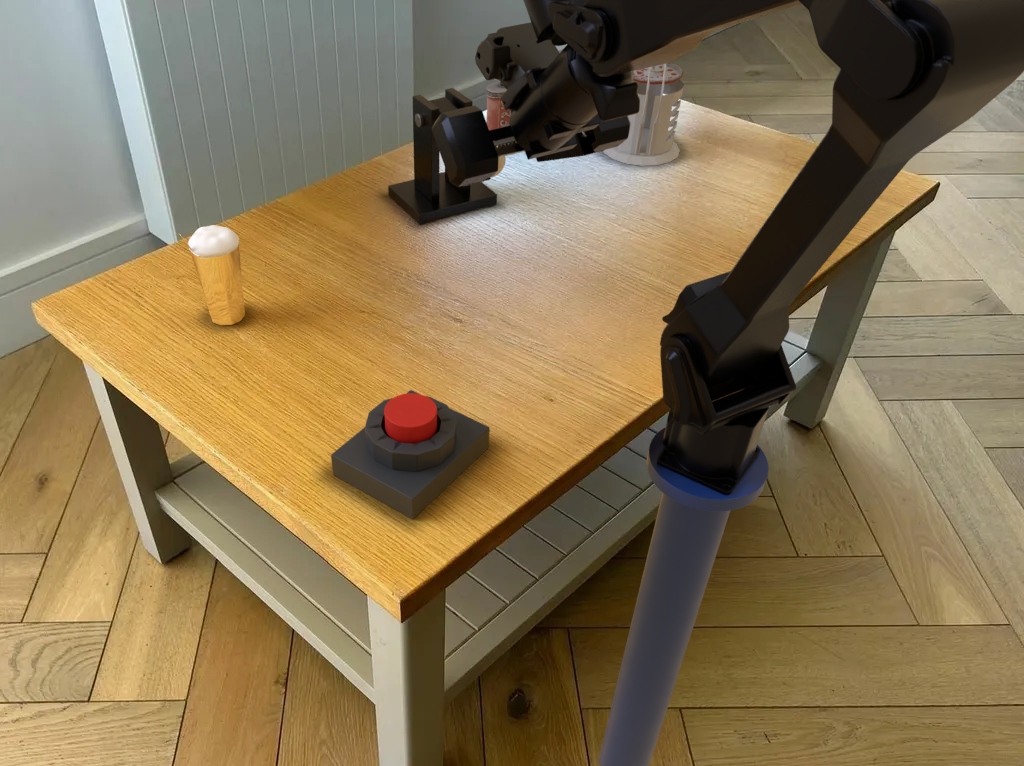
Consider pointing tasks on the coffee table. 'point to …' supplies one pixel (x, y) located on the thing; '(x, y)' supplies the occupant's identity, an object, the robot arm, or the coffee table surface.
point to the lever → (446, 106)
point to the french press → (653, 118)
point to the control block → (409, 459)
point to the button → (410, 418)
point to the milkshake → (219, 272)
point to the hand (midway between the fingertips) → (498, 166)
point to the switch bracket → (436, 172)
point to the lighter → (496, 107)
